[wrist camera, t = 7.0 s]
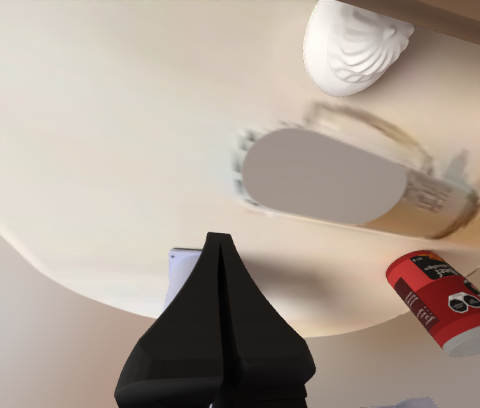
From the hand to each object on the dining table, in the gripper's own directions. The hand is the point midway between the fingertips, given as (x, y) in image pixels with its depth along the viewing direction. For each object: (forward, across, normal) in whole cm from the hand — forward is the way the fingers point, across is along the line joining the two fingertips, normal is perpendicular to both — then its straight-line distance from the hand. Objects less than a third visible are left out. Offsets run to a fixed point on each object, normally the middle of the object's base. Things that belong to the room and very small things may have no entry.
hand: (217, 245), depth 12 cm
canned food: (+10, -32, +11) cm, 36 cm away
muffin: (+10, -7, -12) cm, 17 cm away
